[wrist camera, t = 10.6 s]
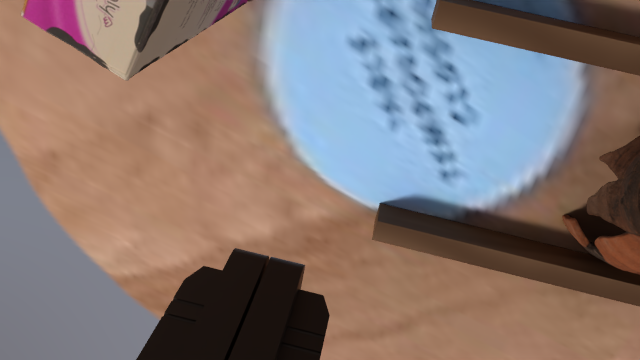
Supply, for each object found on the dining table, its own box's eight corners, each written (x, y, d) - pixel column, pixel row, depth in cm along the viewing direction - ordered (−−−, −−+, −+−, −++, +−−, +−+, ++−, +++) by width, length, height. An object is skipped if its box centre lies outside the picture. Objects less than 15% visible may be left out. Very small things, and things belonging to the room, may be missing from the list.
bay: (439, -8, 34) (440, 5, 30) (878, 91, 32) (934, 116, 29) (374, 221, 42) (370, 251, 38) (724, 307, 40) (753, 347, 37)
